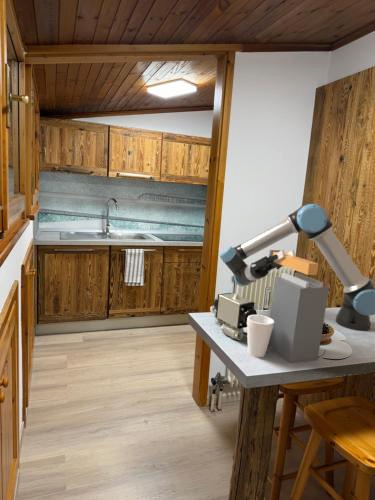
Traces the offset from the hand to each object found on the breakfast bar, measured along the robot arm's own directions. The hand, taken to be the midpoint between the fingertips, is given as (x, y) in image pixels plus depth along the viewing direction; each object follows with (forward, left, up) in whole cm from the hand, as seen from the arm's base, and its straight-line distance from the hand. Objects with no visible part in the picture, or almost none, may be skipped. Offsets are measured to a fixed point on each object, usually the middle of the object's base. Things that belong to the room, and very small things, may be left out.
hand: (288, 253), depth 133 cm
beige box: (+15, -23, -36) cm, 45 cm away
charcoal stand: (0, +9, -36) cm, 37 cm away
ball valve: (+16, -8, -36) cm, 40 cm away
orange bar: (0, +3, -5) cm, 6 cm away
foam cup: (+14, +8, -36) cm, 39 cm away
